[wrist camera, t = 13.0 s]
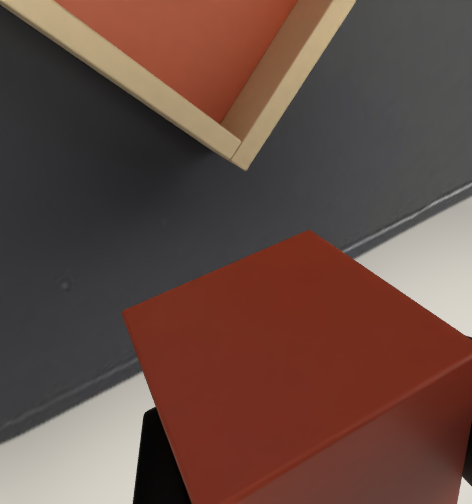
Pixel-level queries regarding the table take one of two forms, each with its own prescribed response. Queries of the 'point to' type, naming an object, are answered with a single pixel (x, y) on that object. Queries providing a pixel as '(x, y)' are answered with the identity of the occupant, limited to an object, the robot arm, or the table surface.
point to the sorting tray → (198, 57)
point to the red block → (306, 383)
